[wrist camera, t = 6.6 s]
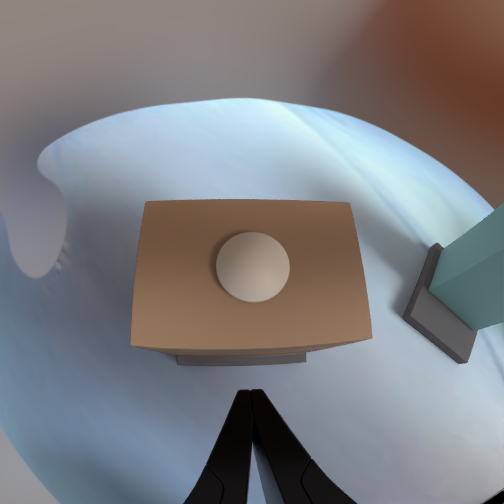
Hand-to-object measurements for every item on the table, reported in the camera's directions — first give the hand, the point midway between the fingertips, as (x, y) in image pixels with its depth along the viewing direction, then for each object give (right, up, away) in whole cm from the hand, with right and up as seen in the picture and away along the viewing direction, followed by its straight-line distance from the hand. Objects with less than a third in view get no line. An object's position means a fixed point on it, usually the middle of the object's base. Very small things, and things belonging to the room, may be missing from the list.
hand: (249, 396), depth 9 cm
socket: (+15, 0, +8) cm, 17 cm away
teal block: (+16, +2, +8) cm, 18 cm away
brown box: (-1, +1, +6) cm, 7 cm away
